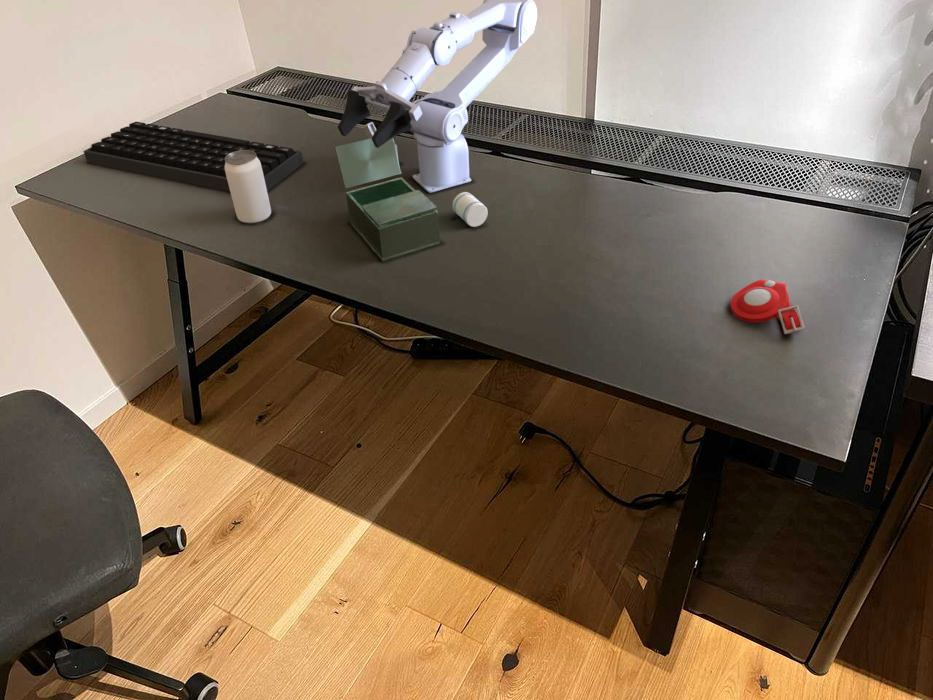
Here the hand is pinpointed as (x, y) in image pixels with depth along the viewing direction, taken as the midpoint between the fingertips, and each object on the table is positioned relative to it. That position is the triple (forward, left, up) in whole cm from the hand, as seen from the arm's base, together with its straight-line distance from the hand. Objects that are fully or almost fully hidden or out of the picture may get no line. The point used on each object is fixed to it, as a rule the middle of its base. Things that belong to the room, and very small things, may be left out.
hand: (357, 137), depth 130 cm
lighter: (-13, -23, -17) cm, 31 cm away
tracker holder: (-41, +57, -17) cm, 72 cm away
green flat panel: (-3, -3, -6) cm, 7 cm away
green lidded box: (-3, +5, -17) cm, 18 cm away
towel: (-16, +8, -17) cm, 25 cm away
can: (+17, -15, -17) cm, 28 cm away
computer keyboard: (+22, -44, -17) cm, 52 cm away
